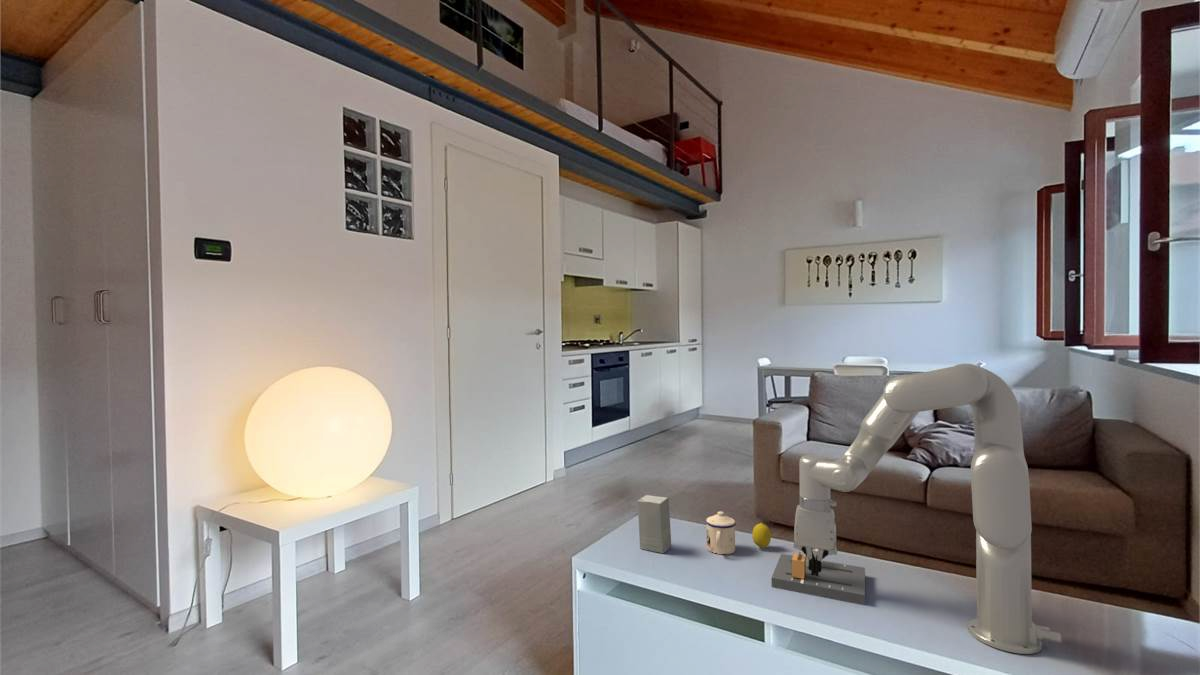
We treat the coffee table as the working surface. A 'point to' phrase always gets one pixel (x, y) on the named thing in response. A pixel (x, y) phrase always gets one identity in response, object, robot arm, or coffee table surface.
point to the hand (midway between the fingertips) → (815, 573)
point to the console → (823, 580)
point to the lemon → (761, 535)
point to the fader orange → (799, 565)
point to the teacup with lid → (720, 534)
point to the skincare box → (654, 523)
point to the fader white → (815, 552)
